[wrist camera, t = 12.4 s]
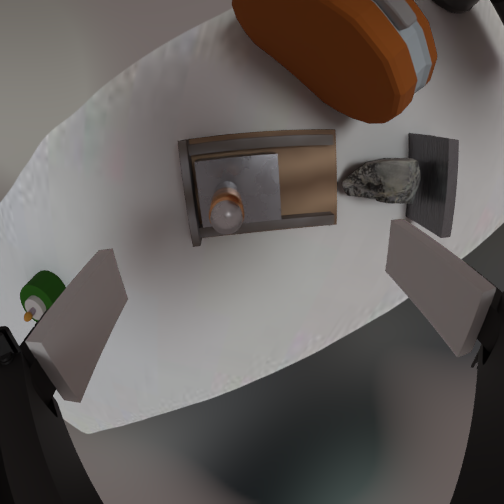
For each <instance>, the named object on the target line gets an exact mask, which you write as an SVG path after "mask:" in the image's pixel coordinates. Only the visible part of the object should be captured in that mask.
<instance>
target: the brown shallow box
mask: <svg viewBox="0 0 504 504" xmlns="http://www.w3.org/2000/svg"><path fill="white" fill-rule="evenodd" d="M178 147H179V156H180V164H181V171H182V179H183V186H184V193H185V200H186V207H187V213H188V220H189V226H190V232H191V238H192V244H193V247H195V246H200V245H201V240H202V238H205V237H214V236H223V235H232V234H242V233H251V232H261V231H271V230H281V229H291V228H302V227H313V226H324V225H335V224H336V222H337V166H336V136H335V129H312V130H281V131H263V132H250V133H238V134H228V135H219V136H210V137H202V138H195V139H188V140H181V141H178ZM261 152H275V153H277V154H278V167H279V183H280V201H281V220H271V221H261V222H251V223H242V225H241V227H240V228H239V229H238V230H237V231H236V232H234V233H232V234H221V233H219V232H217V231H216V230H215V229H214V228H213V227H204V228H203V224H202V217H201V210H200V203H199V195H198V188H197V180H196V172H195V163H194V162H195V161H196V160H197V159H202V158H210V157H219V156H228V155H238V154H249V153H261Z"/></svg>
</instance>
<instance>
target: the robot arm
mask: <svg viewBox="0 0 504 504" xmlns="http://www.w3.org/2000/svg"><path fill="white" fill-rule="evenodd" d="M433 1H434V2H435V3H437V4H438V5H439V6H441V7H442V8H444V9H446V10H447V11H450V12H452V13H463V12H466V11H469V10H470V9H471V8H472V7H473V6H474V5H475V4H476V3H477V2H478V1H479V0H433ZM490 1H491V3H492V5H493V6H494V8H495V10H496V12H497V13H498V15H499V17H500V19H501V21H502V23H503V25H504V0H490ZM385 271H386V272H387V273H388V274H389V276H390V277H391V278H392V279H393V280H394V281H395V282H396V283H397V284H398V286H399V287H400V288H401V289H402V290H403V291H404V292H405V294H406V295H407V296H408V297H409V298H410V299H411V300H412V302H413V303H414V304H415V305H416V306H417V307H418V309H419V310H420V311H421V312H422V313H423V315H424V316H425V317H426V318H427V320H428V321H429V322H430V323H431V324H432V326H433V327H434V328H435V329H436V331H437V332H438V333H439V334H440V335H441V337H442V338H443V339H444V341H445V342H446V343H447V345H448V346H449V347H450V348H451V350H452V351H453V352H454V353H455V355H456V356H457V357H460V356H462V355H464V354H467V353H469V352H471V351H472V349H473V347H474V344H475V342H476V340H477V339H478V340H479V341H480V342H481V346H480V349H479V351H478V353H477V355H476V357H475V359H474V361H473V363H472V365H471V367H474V365H475V363H477V362H478V366H477V369H478V370H477V383H476V393H475V401H474V409H473V416H472V422H471V427H470V433H469V438H468V443H467V448H466V452H465V456H464V460H463V464H462V468H461V471H460V475H459V479H458V482H457V484H456V488H455V491H454V494H453V497H452V499H451V502H450V504H504V292H501V291H500V290H499V289H498V288H497V287H495V286H494V285H493V284H492V283H491V282H490V281H488V280H487V279H486V278H485V277H482V275H481V274H480V273H479V272H476V270H475V269H474V268H472V267H471V266H470V265H469V264H467V263H465V262H464V261H462V260H461V259H460V258H458V257H457V256H456V255H454V254H453V253H452V252H450V251H449V250H448V249H446V248H445V247H444V246H442V245H441V244H439V243H438V242H437V241H435V240H434V239H432V238H431V237H430V236H428V235H427V234H425V233H424V232H422V231H421V230H420V229H418V228H417V227H415V226H414V225H412V224H411V223H409V222H408V221H406V220H405V219H397V220H391V226H390V237H389V246H388V255H387V263H386V270H385ZM127 300H128V297H127V294H126V291H125V288H124V285H123V282H122V279H121V276H120V272H119V269H118V266H117V262H116V259H115V256H114V252H113V249H106V250H99V251H98V252H97V253H96V254H95V255H94V256H93V257H92V259H91V260H90V261H89V262H88V263H87V264H86V265H85V266H84V268H83V269H82V270H81V271H80V272H79V273H78V274H77V276H76V277H75V278H74V279H73V280H72V281H71V283H70V284H69V285H68V286H67V287H66V289H65V290H64V291H63V292H62V294H61V295H60V296H59V297H58V298H57V300H56V301H55V302H54V304H53V305H52V306H51V307H50V308H49V309H47V310H46V311H45V312H44V314H43V315H42V316H41V318H40V320H38V322H37V323H36V324H35V327H33V328H32V330H31V331H30V332H29V334H28V335H27V336H26V338H25V339H24V341H23V342H22V344H21V345H20V346H19V345H18V344H17V342H16V340H15V338H14V337H13V335H12V333H11V331H10V329H9V328H8V327H6V326H1V327H0V504H103V502H102V500H101V499H100V497H99V495H98V493H97V492H96V490H95V488H94V486H93V484H92V482H91V481H90V479H89V477H88V475H87V473H86V471H85V469H84V467H83V465H82V463H81V461H80V459H79V456H78V454H77V452H76V450H75V448H74V445H73V443H72V440H71V438H70V436H69V433H68V430H67V428H66V425H65V423H64V420H63V417H62V415H61V412H60V409H59V406H58V403H57V401H56V400H55V398H54V397H53V395H54V393H55V390H57V391H58V392H59V394H60V395H61V396H62V398H63V399H64V400H67V401H73V402H79V403H81V400H82V398H83V395H84V393H85V390H86V388H87V385H88V383H89V381H90V378H91V376H92V374H93V371H94V369H95V367H96V364H97V362H98V360H99V358H100V355H101V353H102V351H103V349H104V347H105V344H106V342H107V340H108V338H109V336H110V334H111V332H112V330H113V328H114V326H115V323H116V321H117V319H118V317H119V315H120V313H121V311H122V309H123V307H124V305H125V303H126V302H127Z"/></svg>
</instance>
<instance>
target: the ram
mask: <svg viewBox="0 0 504 504" xmlns="http://www.w3.org/2000/svg"><path fill="white" fill-rule="evenodd" d="M194 163H195V172H196V180H197V188H198V195H199V203H200V210H201V217H202V224H203V228H204V227H213V228H214V229H215V230H216V231H217V232H219V233H221V234H232V233H234V232H236V231H237V230H238V229H239V228H240V227H241V225H242V223H251V222H261V221H271V220H281V201H280V183H279V167H278V154H277V153H275V152H261V153H249V154H238V155H228V156H219V157H210V158H202V159H197V160H196V161H195V162H194Z"/></svg>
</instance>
